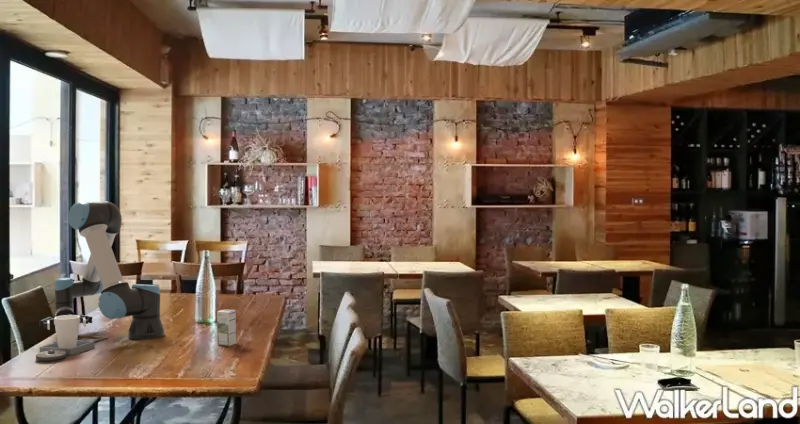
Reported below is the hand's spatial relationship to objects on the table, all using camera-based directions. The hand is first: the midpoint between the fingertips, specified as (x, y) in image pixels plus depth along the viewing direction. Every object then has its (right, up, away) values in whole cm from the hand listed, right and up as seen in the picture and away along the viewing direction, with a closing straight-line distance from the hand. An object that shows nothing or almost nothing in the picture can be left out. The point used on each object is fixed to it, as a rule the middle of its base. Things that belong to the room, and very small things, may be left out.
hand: (66, 325), depth 291 cm
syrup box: (+65, -9, +6) cm, 66 cm away
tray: (+3, -9, -6) cm, 12 cm away
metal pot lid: (+4, -10, -21) cm, 23 cm away
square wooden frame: (+1, -9, +11) cm, 14 cm away
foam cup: (+3, -9, -6) cm, 11 cm away
